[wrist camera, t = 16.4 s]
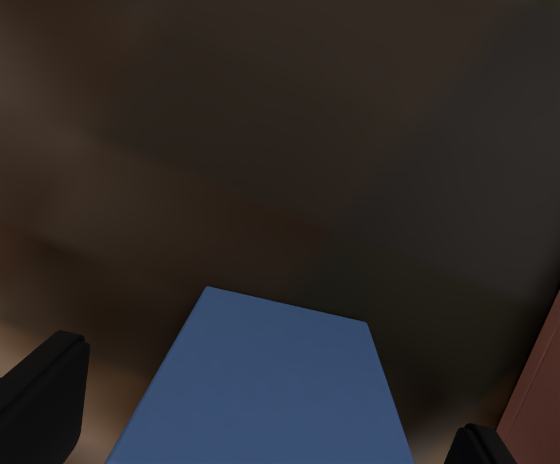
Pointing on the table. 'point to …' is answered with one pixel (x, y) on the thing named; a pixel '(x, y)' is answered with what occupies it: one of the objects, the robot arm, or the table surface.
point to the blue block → (265, 391)
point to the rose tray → (537, 400)
